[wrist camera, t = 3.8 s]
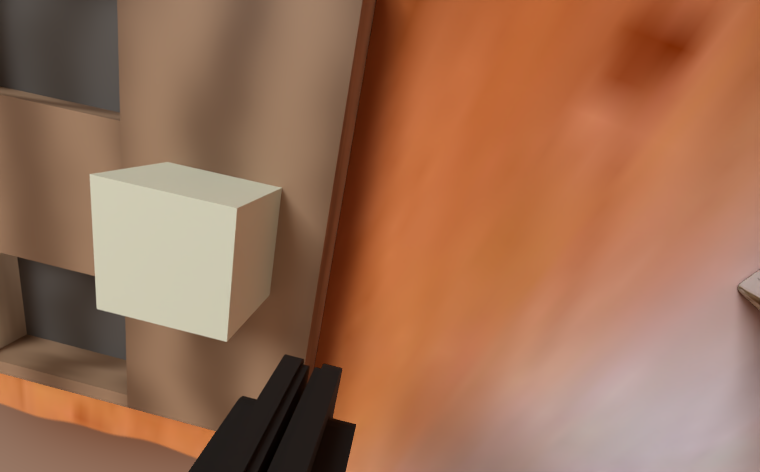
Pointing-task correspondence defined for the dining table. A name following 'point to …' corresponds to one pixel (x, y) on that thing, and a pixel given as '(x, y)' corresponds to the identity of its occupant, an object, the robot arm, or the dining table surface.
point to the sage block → (183, 246)
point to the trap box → (179, 146)
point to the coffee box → (751, 289)
